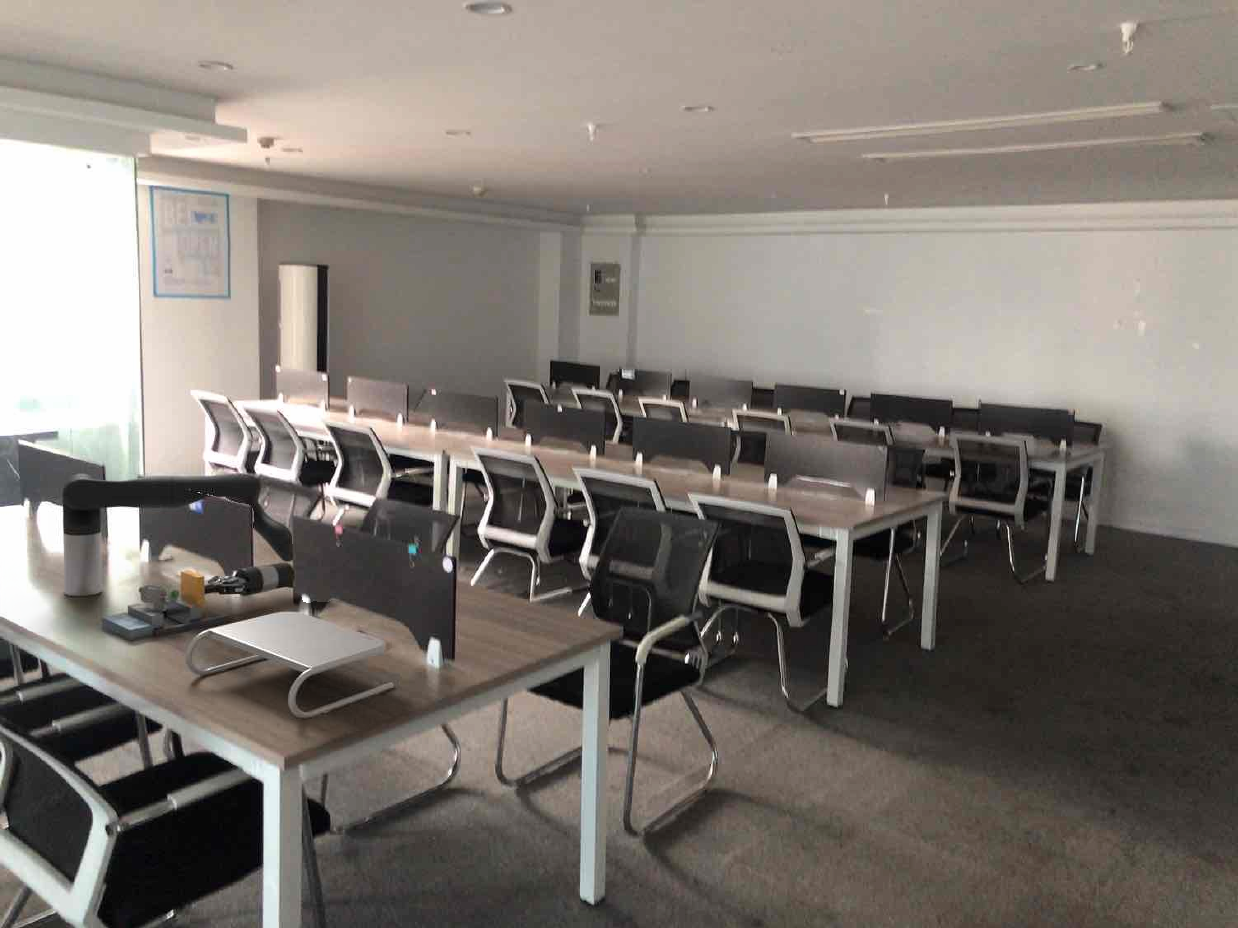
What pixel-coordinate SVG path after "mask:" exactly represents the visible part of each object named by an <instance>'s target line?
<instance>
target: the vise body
mask: <svg viewBox="0 0 1238 928" xmlns="http://www.w3.org/2000/svg"><path fill="white" fill-rule="evenodd" d="M164 617H167V616H166V608H164V609H163V610H162V613H160V612H158V611H156V610H154V609H153V608H152V607H151V608H150V607H149V606H146V605H144V604H141V603H134V604H130V605H127V612H126V611H125V612H121V613H116V614H111V615H106V616H105V615H104V616H101V629H102V630H104V631H106V632H108V633H110V634H113V635H114V636H117V637H119V638H120V639H123V640H125V641H127V642H130V643H131V642H135V641H140V640H141V641H142V640H145V639H150V638H158V637H164V636H168V634H169V635H172V634H177V633H181V632H185V631H186V632H187V631H190V630H195V629H196V630H197V629H200V628H203V627H204V628H205V627H209V626H213V624H214V625H217V624H218V625H219V624H223V623H226V622H227V623H228V622H231V615H230V614H222V615H219V616H213V617H209V618H204V620H199V621H194V622H190V623H185V624H184V623H181V624H177V625H172V626H168V627H164V625H165V624H164V622H165V621H164Z"/></svg>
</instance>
